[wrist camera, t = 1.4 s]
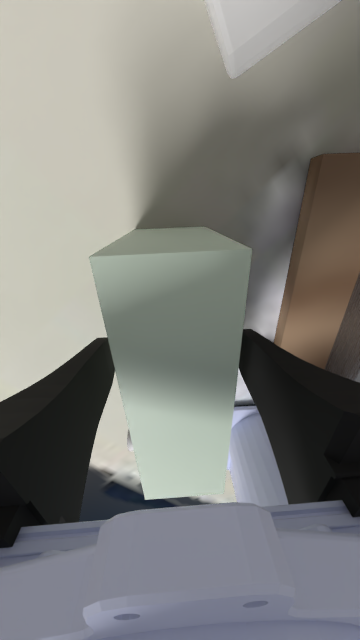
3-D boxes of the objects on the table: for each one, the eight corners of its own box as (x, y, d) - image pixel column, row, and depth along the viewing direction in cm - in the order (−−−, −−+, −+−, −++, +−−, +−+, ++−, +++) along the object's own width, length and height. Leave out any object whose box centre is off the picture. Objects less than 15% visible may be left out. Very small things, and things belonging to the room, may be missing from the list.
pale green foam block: (204, 226, 12) (252, 249, 5) (201, 381, 18) (223, 493, 11) (120, 229, 12) (55, 258, 5) (144, 384, 18) (129, 500, 11)
